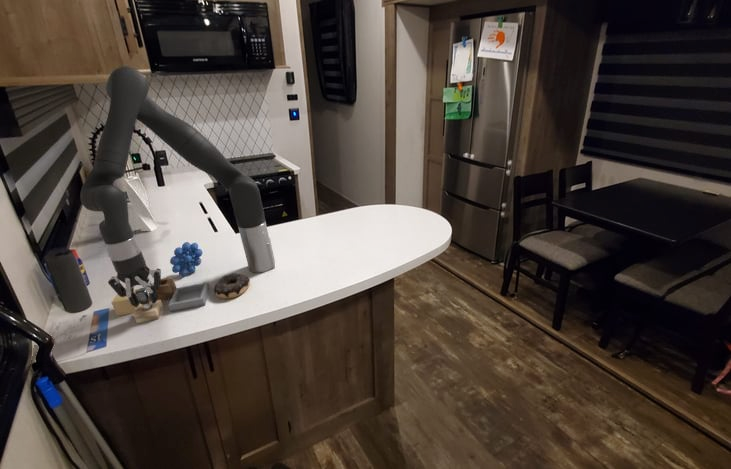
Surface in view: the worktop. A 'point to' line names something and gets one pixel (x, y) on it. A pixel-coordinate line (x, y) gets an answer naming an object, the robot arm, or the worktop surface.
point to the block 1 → (123, 305)
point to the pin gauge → (143, 298)
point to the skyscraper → (140, 202)
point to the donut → (231, 286)
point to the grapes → (186, 258)
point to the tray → (189, 297)
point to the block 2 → (166, 289)
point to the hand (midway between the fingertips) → (145, 303)
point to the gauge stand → (148, 312)
